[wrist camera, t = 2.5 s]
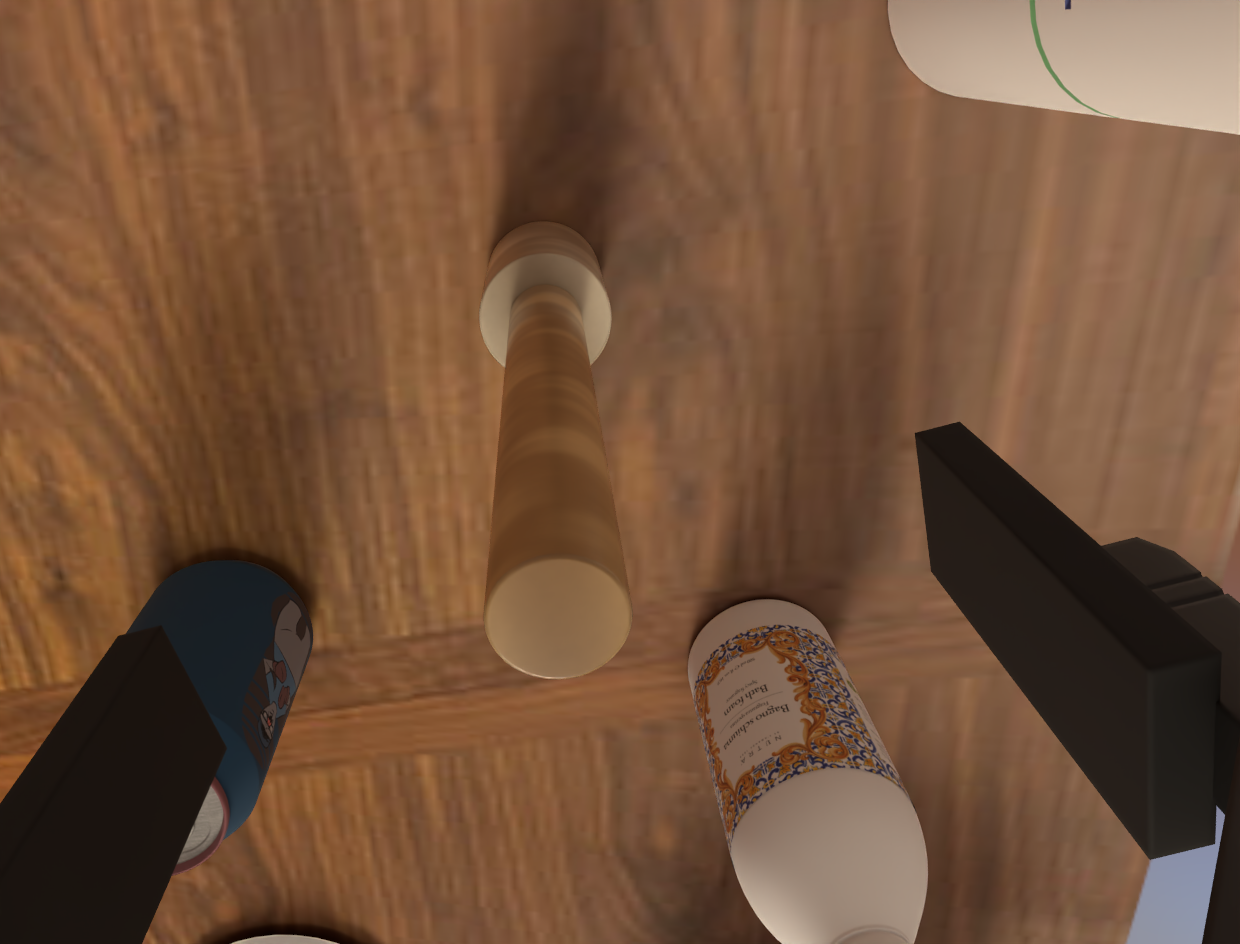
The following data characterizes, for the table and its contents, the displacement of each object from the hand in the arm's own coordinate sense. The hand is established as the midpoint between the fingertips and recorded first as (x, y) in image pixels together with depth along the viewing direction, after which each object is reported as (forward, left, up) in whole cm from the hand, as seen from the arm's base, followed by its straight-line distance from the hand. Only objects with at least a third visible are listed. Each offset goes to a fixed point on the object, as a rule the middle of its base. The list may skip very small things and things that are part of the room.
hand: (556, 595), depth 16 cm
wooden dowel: (0, 0, -23) cm, 23 cm away
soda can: (+17, +11, -23) cm, 31 cm away
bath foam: (-5, +20, -23) cm, 31 cm away
